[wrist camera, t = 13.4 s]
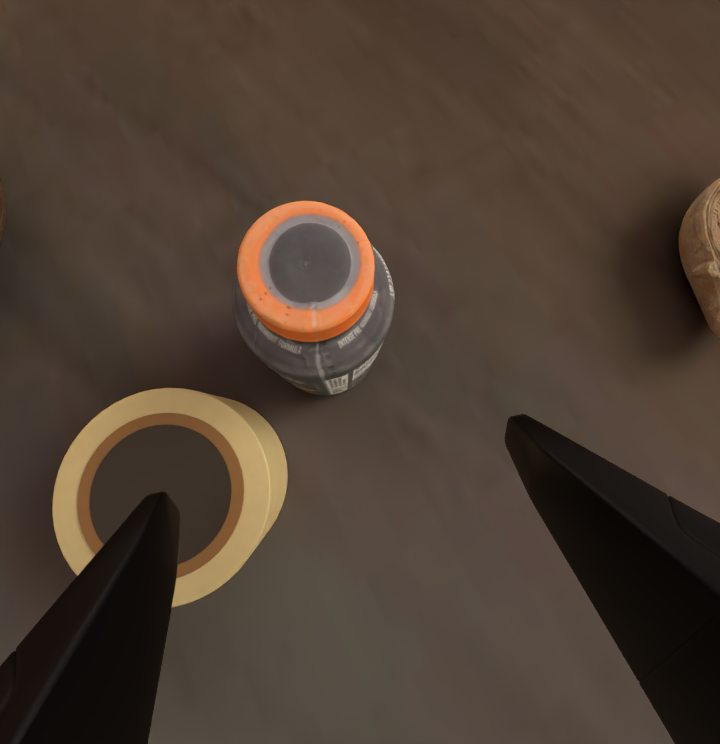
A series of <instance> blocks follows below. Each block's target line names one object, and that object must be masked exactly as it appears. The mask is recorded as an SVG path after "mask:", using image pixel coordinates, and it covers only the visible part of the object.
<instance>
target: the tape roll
mask: <svg viewBox="0 0 720 744" xmlns="http://www.w3.org/2000/svg"><path fill="white" fill-rule="evenodd" d="M287 479H288V472H287V462H286V457H285V453H284V450H283V447H282V444H281V442H280V440H279V438H278V436H277V434H276V433H275V431H274V430H273V428H272V427H271V425H270V424H269V423H268V422H267V421H266V420H265V419H264V418H263V417H262V416H261V415H260V414H259V413H257V412H256V411H255V410H253V409H251V408H250V407H248V406H247V405H244V404H242V403H240V402H238V401H235V400H231V399H228V398H224V397H220V396H216V395H211V394H207V393H203V392H199V391H195V390H189V389H183V388H161V389H152V390H148V391H143V392H139V393H137V394H134V395H131V396H128V397H126V398H124V399H122V400H120V401H118V402H116V403H114V404H112V405H111V406H109V407H108V408H106V409H105V410H103V411H102V412H101V413H99V414H98V415H97V416H96V417H95V418H93V419H92V420H91V421H90V422H89V423H88V424H87V425H86V426H85V427H84V428H83V430H82V431H81V432H80V433H79V434H78V436H77V437H76V438H75V440H74V441H73V443H72V444H71V446H70V447H69V449H68V451H67V453H66V455H65V456H64V459H63V461H62V463H61V466H60V468H59V471H58V475H57V478H56V482H55V486H54V493H53V508H52V514H53V523H54V530H55V533H56V537H57V541H58V544H59V546H60V549H61V551H62V554H63V556H64V557H65V559H66V561H67V562H68V564H69V566H70V567H71V569H72V570H73V571H74V572H75V574H76V575H77V576H78V575H79V574H80V572H81V571H82V570H83V569H84V568H85V567H86V565H87V564H88V563H89V562H90V561H91V560H92V558H93V557H94V556H95V555H96V554H97V553H98V551H99V550H100V549H101V548H102V547H103V546H104V544H105V543H106V542H107V541H108V540H109V538H110V537H111V536H112V535H113V534H114V533H115V531H116V530H117V529H118V528H119V527H120V526H121V524H122V523H123V522H124V521H125V520H126V519H127V517H128V516H129V515H130V514H131V513H132V512H133V510H134V509H135V508H136V507H137V506H138V504H139V503H140V502H141V501H142V500H143V499H144V498H145V497H146V496H147V495H149V494H152V493H156V492H161V491H164V492H167V493H168V495H169V496H170V497H171V499H172V500H173V501H174V503H175V504H176V506H177V507H178V509H179V511H180V515H181V521H180V536H179V552H178V567H177V578H176V585H175V591H174V597H173V602H172V607H176V606H180V605H184V604H187V603H190V602H193V601H195V600H197V599H200V598H202V597H204V596H206V595H208V594H209V593H211V592H213V591H215V590H216V589H217V588H219V587H220V586H221V585H223V584H224V583H225V582H227V581H228V580H229V579H230V578H231V577H232V576H233V575H234V574H235V573H236V572H237V571H238V570H239V569H240V568H241V567H242V566H243V564H244V563H245V562H246V561H247V559H248V558H249V557H250V555H251V554H252V553H253V551H254V550H255V549H256V547H257V546H258V544H259V543H260V542H261V540H262V539H263V538H264V536H265V535H266V534H267V532H268V531H269V530H270V528H271V527H272V525H273V523H274V522H275V520H276V519H277V517H278V515H279V512H280V510H281V508H282V505H283V502H284V499H285V495H286V489H287Z"/></svg>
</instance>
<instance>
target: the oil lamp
mask: <svg viewBox="0 0 720 744" xmlns="http://www.w3.org/2000/svg"><path fill="white" fill-rule="evenodd" d="M679 253H680V258H681V262H682V266H683V268H684V271H685V274H686V276H687V279H688V281H689V283H690V285H691V287H692V289H693V291H694V294H695V296H696V298H697V301H698V303H699V305H700V307H701V310H702V312H703V314H704V316H705V319H706V321H707V323H708V325H709V327H710V329H711V330H712V332H713V333H714V334H715V335H716V336H717V337H718V338H720V178H719V179H717V180H716V181H715V182H713V183H712V184H711V185H709V186H708V187H707V188H706V189H705V190H704V191H703V192H702V193H701V194H700V195H699V196H698V197H697V198H696V199H695V201H694V202H693V203H692V205H691V206H690V207H689V209H688V210H687V212H686V214H685V216H684V218H683V221H682V224H681V228H680V232H679Z"/></svg>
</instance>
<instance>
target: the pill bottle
mask: <svg viewBox="0 0 720 744" xmlns="http://www.w3.org/2000/svg"><path fill="white" fill-rule="evenodd" d="M394 302H395V298H394V287H393V283H392V279H391V275H390V273H389V270H388V268H387V266H386V264H385V262H384V260H383V258H382V257H381V255H380V254H379V253H378V251H377V250H376V249H375V248H374V246H373V245H372V244H371V243H370V242H369V240H368V239H367V236H366V234H365V233H364V231H363V230H362V228H361V227H360V226H359V225H358V224H357V222H356V221H355V220H354V219H352V218H351V217H350V216H348V215H347V214H346V213H344V212H343V211H341V210H339V209H337V208H335V207H333V206H330V205H327V204H324V203H321V202H315V201H297V202H291V203H287V204H284V205H281V206H278V207H276V208H274V209H272V210H270V211H268V212H267V213H266V214H264V215H263V216H262V217H260V218H259V219H258V220H257V221H256V222H255V223H254V224H253V225H252V226H251V228H250V229H249V230H248V232H247V233H246V235H245V237H244V239H243V241H242V243H241V245H240V249H239V253H238V261H237V274H236V277H235V281H234V286H233V293H232V306H233V313H234V318H235V321H236V325H237V327H238V330H239V332H240V334H241V336H242V338H243V339H244V341H245V343H246V344H247V346H248V347H249V348H250V350H251V351H252V352H253V353H254V354H255V355H256V356H257V357H258V358H259V359H260V360H261V361H262V362H264V363H265V364H266V365H267V366H268V367H270V368H271V369H272V370H274V371H275V372H276V373H278V374H279V375H280V376H282V377H283V378H284V379H285V380H287V381H288V382H289V383H291V384H292V385H294V386H295V387H297V388H299V389H301V390H303V391H306V392H308V393H311V394H315V395H336V394H340V393H343V392H345V391H348V390H350V389H352V388H353V387H355V386H356V385H357V384H359V383H360V382H361V381H362V380H363V379H364V378H365V376H366V375H367V373H368V372H369V370H370V369H371V367H372V365H373V363H374V361H375V359H376V356H377V354H378V352H379V350H380V348H381V346H382V344H383V341H384V339H385V338H386V336H387V333H388V331H389V329H390V326H391V323H392V319H393V314H394Z"/></svg>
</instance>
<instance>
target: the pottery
mask: <svg viewBox="0 0 720 744" xmlns="http://www.w3.org/2000/svg"><path fill="white" fill-rule="evenodd" d="M6 210H7V202H6V195H5V191H4V189H3V186H2V183H1V180H0V245H1V241H2V237H3V233H4V229H5V220H6Z"/></svg>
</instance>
